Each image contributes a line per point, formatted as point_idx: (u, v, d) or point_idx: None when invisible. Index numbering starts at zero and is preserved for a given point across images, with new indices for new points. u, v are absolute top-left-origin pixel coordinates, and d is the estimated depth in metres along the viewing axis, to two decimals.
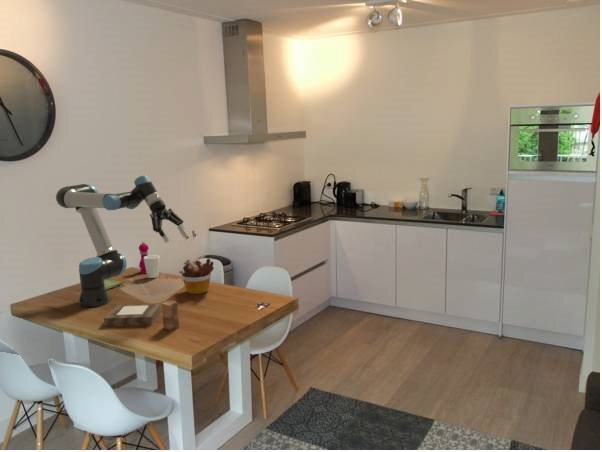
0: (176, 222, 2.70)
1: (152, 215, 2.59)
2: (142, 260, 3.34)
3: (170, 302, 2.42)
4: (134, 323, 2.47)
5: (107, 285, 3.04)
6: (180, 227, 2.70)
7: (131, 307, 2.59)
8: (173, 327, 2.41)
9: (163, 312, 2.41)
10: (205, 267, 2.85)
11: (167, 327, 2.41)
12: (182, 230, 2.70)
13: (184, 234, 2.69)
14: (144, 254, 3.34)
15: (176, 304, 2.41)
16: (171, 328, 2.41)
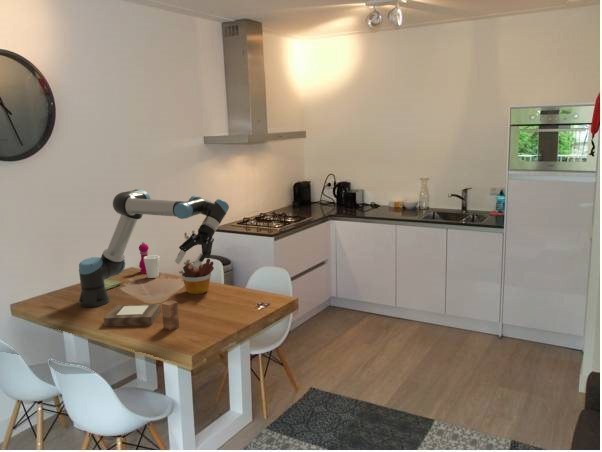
0: (187, 248, 2.54)
1: (212, 240, 2.49)
2: (142, 260, 3.34)
3: (170, 302, 2.42)
4: (134, 323, 2.47)
5: (107, 285, 3.04)
6: (183, 254, 2.53)
7: (131, 307, 2.59)
8: (173, 327, 2.41)
9: (163, 312, 2.41)
10: (205, 267, 2.85)
11: (167, 327, 2.41)
12: (181, 257, 2.52)
13: (178, 261, 2.51)
14: (144, 254, 3.34)
15: (176, 304, 2.41)
16: (171, 328, 2.41)
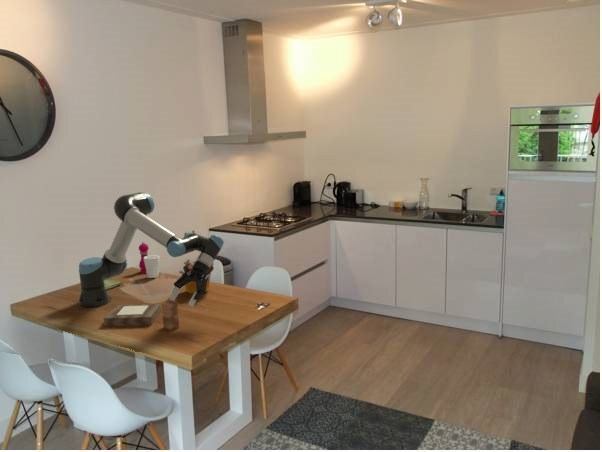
0: (181, 285, 2.52)
1: (206, 277, 2.47)
2: (142, 260, 3.34)
3: (170, 302, 2.42)
4: (134, 323, 2.47)
5: (107, 285, 3.04)
6: (177, 291, 2.51)
7: (131, 307, 2.59)
8: (173, 327, 2.41)
9: (163, 312, 2.41)
10: None
11: (167, 327, 2.41)
12: (176, 294, 2.51)
13: (173, 298, 2.50)
14: (144, 254, 3.34)
15: (176, 304, 2.41)
16: (171, 328, 2.41)
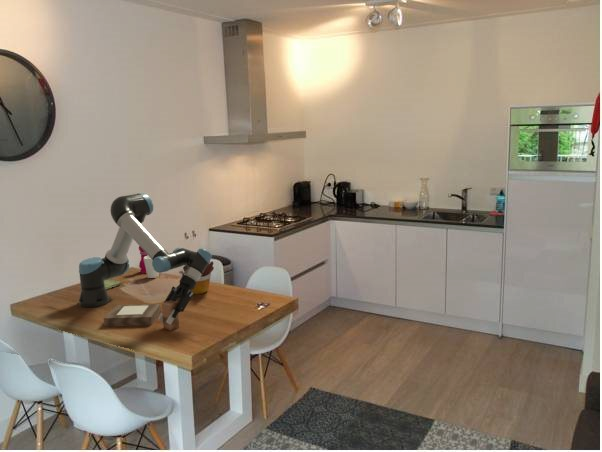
0: None
1: (190, 295, 2.43)
2: (142, 260, 3.34)
3: (170, 302, 2.42)
4: (134, 323, 2.47)
5: (107, 285, 3.04)
6: None
7: (131, 307, 2.59)
8: (173, 327, 2.41)
9: (163, 312, 2.41)
10: None
11: (167, 327, 2.41)
12: None
13: (162, 319, 2.42)
14: (144, 254, 3.34)
15: (176, 304, 2.41)
16: (171, 328, 2.40)
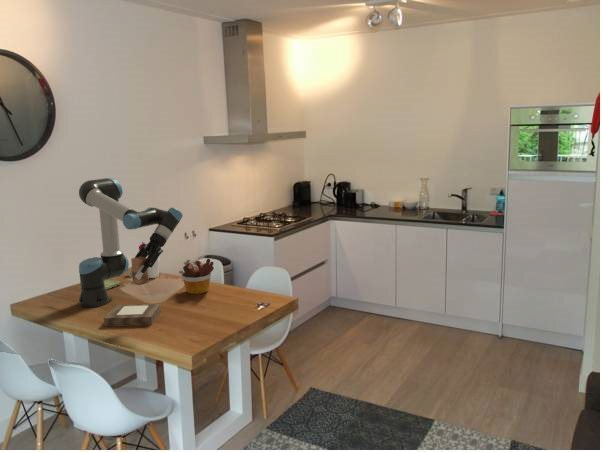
0: None
1: (160, 252, 2.48)
2: None
3: (140, 258, 2.47)
4: (134, 323, 2.47)
5: (107, 285, 3.04)
6: None
7: (131, 307, 2.59)
8: (142, 282, 2.46)
9: (132, 267, 2.46)
10: (205, 267, 2.85)
11: (136, 282, 2.46)
12: None
13: (131, 274, 2.47)
14: None
15: (145, 260, 2.46)
16: (140, 283, 2.46)
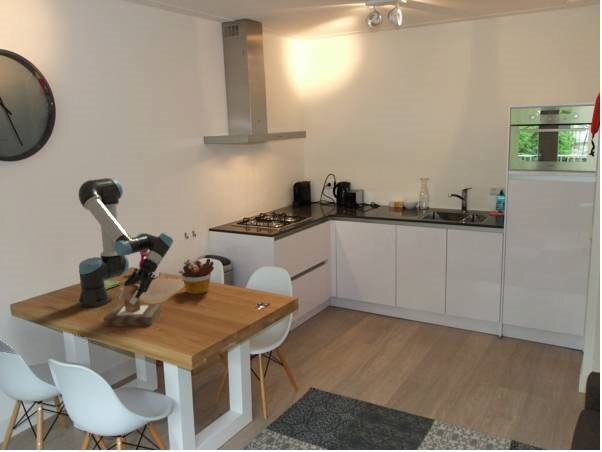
0: None
1: (152, 276, 2.54)
2: (142, 260, 3.34)
3: (131, 285, 2.53)
4: (134, 323, 2.47)
5: (107, 285, 3.04)
6: None
7: None
8: (134, 309, 2.53)
9: (124, 295, 2.53)
10: (205, 267, 2.85)
11: (128, 309, 2.53)
12: None
13: (122, 298, 2.55)
14: (144, 254, 3.34)
15: (137, 287, 2.53)
16: (132, 310, 2.52)
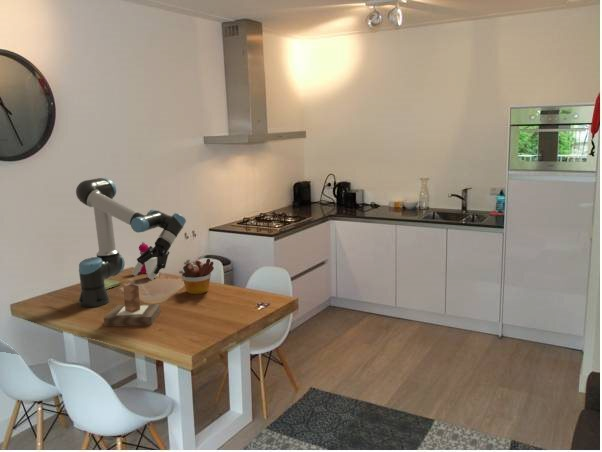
0: (144, 261, 2.64)
1: (167, 253, 2.59)
2: None
3: (131, 285, 2.53)
4: (134, 323, 2.47)
5: (107, 285, 3.04)
6: (140, 266, 2.64)
7: None
8: (134, 309, 2.53)
9: (124, 295, 2.53)
10: (205, 267, 2.85)
11: (128, 309, 2.53)
12: (138, 269, 2.63)
13: (135, 273, 2.62)
14: None
15: (137, 287, 2.53)
16: (132, 310, 2.52)
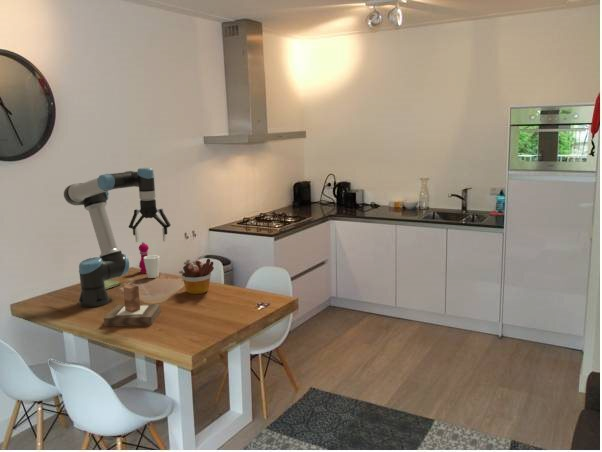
0: (137, 225, 2.64)
1: (162, 211, 2.63)
2: (142, 260, 3.34)
3: (131, 285, 2.53)
4: (134, 323, 2.47)
5: (106, 285, 3.04)
6: (137, 231, 2.64)
7: None
8: (134, 309, 2.53)
9: (124, 295, 2.53)
10: (205, 267, 2.85)
11: (128, 309, 2.53)
12: (137, 235, 2.65)
13: (138, 239, 2.65)
14: (144, 254, 3.34)
15: (137, 287, 2.53)
16: (132, 310, 2.52)
